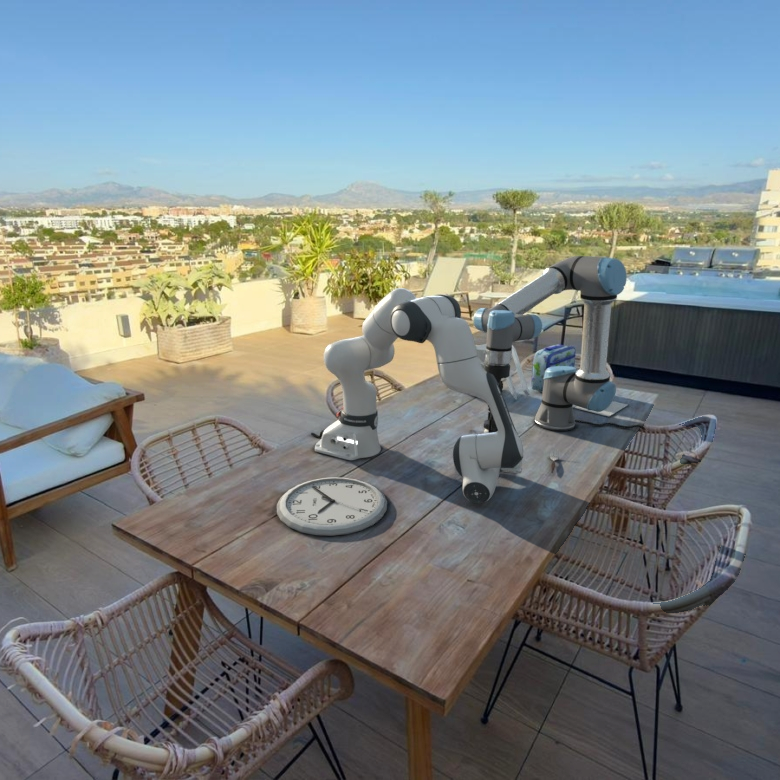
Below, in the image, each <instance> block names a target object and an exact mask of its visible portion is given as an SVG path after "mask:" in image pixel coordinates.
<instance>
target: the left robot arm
mask: <svg viewBox="0 0 780 780" xmlns="http://www.w3.org/2000/svg"><path fill="white" fill-rule="evenodd" d="M361 326H362V327H361V329H362V330H361V331H362V335H360V336H356V337H350V338H345V339H340V340H337V341H334V342H332V343H330V344H328V345H327V346H326V347H325V349H324V352H323V355H322V357H323V363H324V366H325V368H326V370H328V371H329V372H330V373H331V374H332V375H334V376H335V378H337V380H338V381H339V383H340V386H341V391H342V407H341V408H340V410H338V412H337V413H336V414H335V415H336V418H338V419H337V420H335V421H334V422H332V423H331V424H330V425H328V426H327V427H326V428H325V429H322V430H321V431H320V432H319V434H317V433H315V432H311V433H310V435H311V436H312V437H315V438H317V439H319V440H317V442H316V444H315V445H314V452H316V453H320V454H322V455H323V454H324V455H328V456H331V457H335V458H339V459H342V460H346V461H355V460H359V459H366V458H371V457H374V456H377V455H378V454H379V453H380V452H381V451H382V448H381V447H382V446H381V445H380V440H379V434H378V424H379V414H378V413H379V412H378V409H377V402H378V401H377V394H378V393H377V388H376V387H375V385H374V384H373V383H371V382H370V381H368V380H366V377H365V371H369V370H374V369H379V368H381V367H384V366H386V365H388V364H390V363H391V362H392V361H393V359H394V357H395V351H396V349H395V346H394V343H395V342H396V341H397V339H400V340H403V341H408V342H415V343H418V344H424V343H425V342H426V341H428V342H429V343H430V344H431V346H433V349H434V352H435V359H436V365H437V371H438V373H439V377H440V381H442V384H444V385H445V386H446V387H447V388H449V389H450V390H452V391H455V392H456V393H460V394H465V395H469V396H473V397H476V398H479V399H482V400H483V401H484V402H485V403H486V404H487V406H488V405H489V407H490V410H491V412H492V415H493V418H494V420H495V423H496V426H497V429H498V431H497V432H491V433H484V432H483V433H482V432H481V433H472V434H471V433H470V434H464V435H460V436H459V438H457V440H456V441H455V443H454V446H453V449H452V460H453V465H454V472H455V473H454V474H456V475H457V476H460V477H462V495H463V496H464V498H465V499H466V500H467V501H469V502H471V503H473V504H484V503H486V502H488V501H489V500H490V499H491V498H492V497H493V495H494V493H495V490H496V488H497V484H498V480H499V476H500V475H501V474H502V475H507V476H517V475H518V474H521V473H522V471H523V468H522V466H523V459H524V445H523V442H522V440H521V438H520V436H519V434H518V432H517V429H516V427H515V425H514V421H513V419H512V416H511V414H510V412H509V407H508V406H507V403H506V400H505V398H504V395H503V391H502V392H501V390H500V387H499V385H498V383H497V381H496V379H495V377H494V376H493V374H491V373H488V372H486V371H485V370H484V368H483V367H482V365H481V364H480V361H479V358H478V354H477V349H476V346H477V345H476V342H475V338H474V335H473V332H472V329H471V327H470V325H469V323H468V322H467V320H465V319H464V318H462V309H461V305H460V303H459V302H458V300H457V299H456V298H455V297H453V296H451V295H449V294H448V295H447V294H434V295H426V296H421V297H419V298H417V297H416V296H415V294H414V293H413V292H412V291H410V290H409V289H407V288H405V287H404V288H403V287H398V288H394V289H393V290H391V291H390V292H389V293H387V294H386V295H385V296H384V297H383V298H382V299H381V300H380V301H379V302H378V303H377V304H376V305H375V307H374V308H373V309H372V310H371V312H370V313H369V314H368V315H367V317H366V318H365V320H364V321H363V323H362V325H361ZM489 407H488V408H489Z"/></svg>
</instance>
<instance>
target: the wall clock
mask: <svg viewBox="0 0 780 780" xmlns="http://www.w3.org/2000/svg"><path fill="white" fill-rule="evenodd" d="M387 509H388V500H387V498H386V496H385V494H384V493H383V492H382V491H381V490H380V489H379V488H377V487H376V486H374V485H372V484H371V483H369V482H365V481H362V480H359V479H355V478H349V477H338V476H337V477H335V476H333V477H332V476H331V477H322V478H317V479H312V480H307V481H305V482H302V483H299V484H297V485H295V486H293V487H292V488H290V489H288V490H287V491H286V492H285V493H284V494H283V495H281V496H280V498H279V499H278V502H277V503H276V515H277V517H278V518H279V520H280V521H281V522H282V523H283V524H285V525H286V526H287V527H288V528H290V529H293V530H295V531H297V532H299V533H303V534H308V535H312V536H327V537H328V536H329V537H331V536H332V537H333V536H342V535H350V534H352V533H356V532H361V531H363V530H366V529H368V528H369V527H372V526H373V525H375V524H376V523H378V522H379V521H380V520H381V519H382V518H383V517H384V516H385V514H386V512H387Z"/></svg>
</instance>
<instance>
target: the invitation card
mask: <svg viewBox="0 0 780 780" xmlns="http://www.w3.org/2000/svg"><path fill="white" fill-rule="evenodd" d="M628 406H629V404H627V403H623V402H618V401H614V400H613V401H612V402H611V404H610V405H609V406H608V407H607V408H606V409H605V410H603V411H601V412H596V411H592V410H588V409H585V408H582V407H579V406H576V405H575V406H574V407H573V409H575V410H581V411H584V412H587V413H593V414H596V415H600V416H604V417H608V418H609V417H611V416H613V415H614V414H616V413H617V412H619V411H621V410H623V409H624V408H626V407H628Z"/></svg>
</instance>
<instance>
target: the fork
mask: <svg viewBox="0 0 780 780" xmlns="http://www.w3.org/2000/svg"><path fill="white" fill-rule="evenodd" d="M559 454H560V449H556V451H555V452H553V451H551V452H550V456H549V457H550V460H552V462H551V466H550V468H551V469H550V470H551V474H553V473H554V469H555V467H556V463H555V461H558V460H559Z"/></svg>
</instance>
